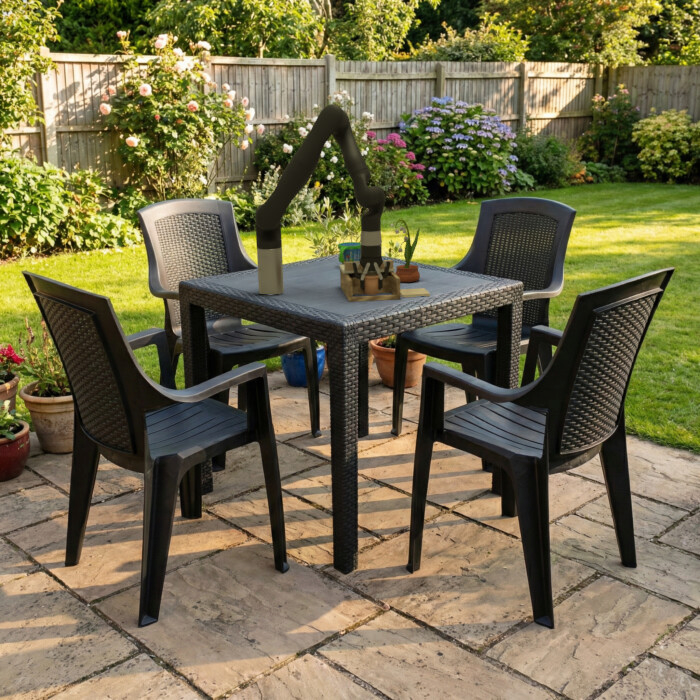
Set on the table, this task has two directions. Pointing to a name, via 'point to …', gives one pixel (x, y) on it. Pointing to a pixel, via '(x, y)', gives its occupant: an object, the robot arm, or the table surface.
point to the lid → (349, 267)
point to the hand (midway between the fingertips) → (371, 289)
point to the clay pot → (371, 284)
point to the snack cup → (349, 252)
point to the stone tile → (414, 292)
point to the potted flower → (407, 256)
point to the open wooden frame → (353, 287)
